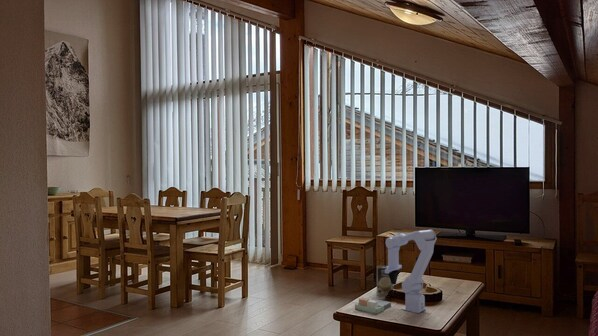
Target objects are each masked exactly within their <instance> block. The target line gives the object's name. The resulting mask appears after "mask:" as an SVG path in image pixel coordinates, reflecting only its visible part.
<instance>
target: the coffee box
mask: <svg viewBox="0 0 598 336" xmlns="http://www.w3.org/2000/svg"><path fill="white" fill-rule="evenodd" d="M387 266H388V265H376V295H377V297H388V296H387V295H388V292H389V291H390V290H393V291H394V284H391V281H390V277H389V275H388V274H387V273H385V269H387V268H386V267H387Z"/></svg>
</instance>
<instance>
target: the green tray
mask: <svg viewBox="0 0 598 336" xmlns="http://www.w3.org/2000/svg"><path fill="white" fill-rule="evenodd" d="M354 309H355V310H357V311H361V312H366V313H369V314H374V315H377V313H378V314H380V313H381V311H382V312H384V311H385V309H384V305H383V306H381V307H379V308H376V309H375V308H370V307H366V306H362V305H359V302H358V303H355V304H354ZM379 312H380V313H379Z"/></svg>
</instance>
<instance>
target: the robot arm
mask: <svg viewBox="0 0 598 336" xmlns="http://www.w3.org/2000/svg"><path fill="white" fill-rule="evenodd" d="M437 239H438V238H437V235H436V232H435V231H434V230H433V229H422V230H416V231H412V232H410V233H406V234H405V233H402V232H399V233H398V235H396V234H395V235H393V237H387V238H386V239H385V246H386V248H387V265H386V266H387V267H386V268H387V269H385V273H387V274H388V275H389V277H390V281H391V284H393V286H394V285H396V284H397V281H398V278H399V275H400V273H401V271H400V269H403V265H402V264H400V262H399V261H400V260H399V259H400V256H399V255H400V254H399V253H400V252H399V251H400V248H401V247H402V246H405V245H407V244H408V243H409V242H410V241H414V243H415V244H416V246H417V248H418V249H419V250H420V253H419V255H418V257H417V260H416V262H415V264H414V267H413V269H412V271H411V274H410V275H408V276H406V277H405V279H404V280H403V281H402V282H401V289H402V292H403V293H404V294H405V295H404V296H405V298H404V300H405V301H404V303H405V304H404V307H402V308H401V310H403V311H407V312H412V313H415V314H420V313H422V312H424V311H426V302H425V301H426V298H425V295H424V294H422V293H421V292H422V290H423V288H424V282H425V280H424V278H423V276H424V275H425V274H424V273H425V271H426V269H427V268H428V265H429V262H430V261H431V259H432V256H433V254H434V248H435V244H436V241H437Z"/></svg>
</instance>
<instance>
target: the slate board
mask: <svg viewBox="0 0 598 336" xmlns="http://www.w3.org/2000/svg"><path fill="white" fill-rule="evenodd" d="M369 300H374V301H378V308H379V307H381V306H383V305H384V310H387V309H388V308H390V307H392V302H390V301H386V300H382V299H381V300H380V299H376V298H371V299H369Z"/></svg>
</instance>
